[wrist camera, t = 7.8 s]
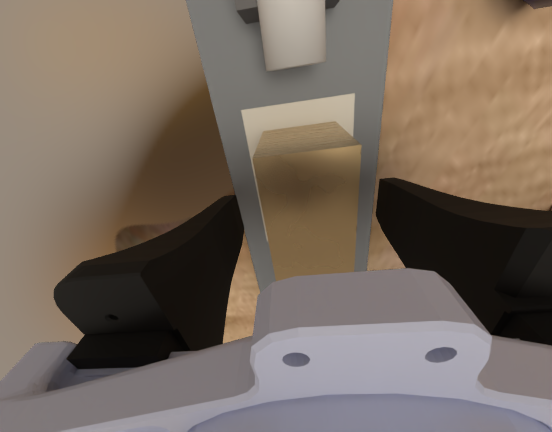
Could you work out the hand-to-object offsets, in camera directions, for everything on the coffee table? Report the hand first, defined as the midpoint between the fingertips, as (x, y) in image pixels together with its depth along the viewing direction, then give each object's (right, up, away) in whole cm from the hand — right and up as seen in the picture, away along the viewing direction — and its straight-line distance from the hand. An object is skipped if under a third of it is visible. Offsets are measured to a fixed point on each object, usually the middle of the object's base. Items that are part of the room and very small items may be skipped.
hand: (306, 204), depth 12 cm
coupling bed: (0, +2, +4) cm, 4 cm away
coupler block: (0, +1, +3) cm, 3 cm away
